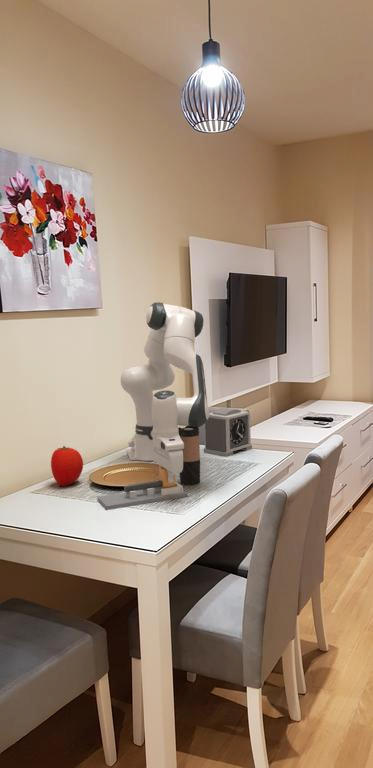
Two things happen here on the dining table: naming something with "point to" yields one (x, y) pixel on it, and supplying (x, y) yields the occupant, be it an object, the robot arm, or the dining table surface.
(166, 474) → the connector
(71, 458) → the red apple
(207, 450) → the alarm clock
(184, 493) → the clip board
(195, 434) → the travel mug
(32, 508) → the dining table surface
